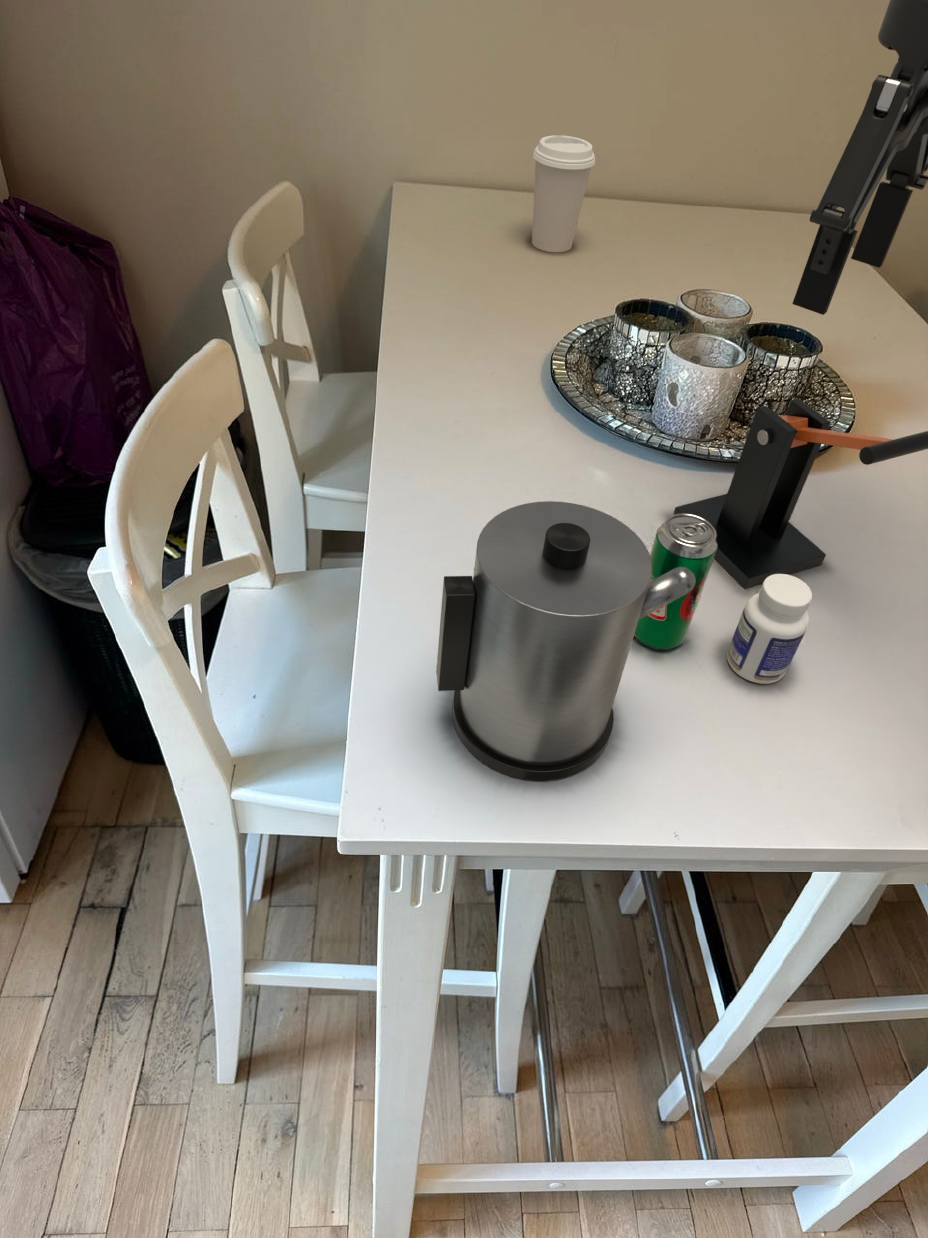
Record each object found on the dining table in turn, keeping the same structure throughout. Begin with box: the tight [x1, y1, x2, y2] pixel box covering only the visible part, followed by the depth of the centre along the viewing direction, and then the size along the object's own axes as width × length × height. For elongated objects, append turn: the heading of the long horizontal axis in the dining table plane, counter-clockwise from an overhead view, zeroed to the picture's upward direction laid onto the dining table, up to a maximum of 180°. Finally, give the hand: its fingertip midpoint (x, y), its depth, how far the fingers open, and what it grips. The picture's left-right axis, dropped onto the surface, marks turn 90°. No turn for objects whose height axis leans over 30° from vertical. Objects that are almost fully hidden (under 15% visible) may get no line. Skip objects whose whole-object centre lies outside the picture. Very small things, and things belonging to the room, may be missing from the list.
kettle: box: [435, 500, 695, 782], centre depth 65 cm, size 18×13×19 cm
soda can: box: [634, 514, 718, 650], centre depth 76 cm, size 5×5×12 cm
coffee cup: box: [531, 134, 596, 254], centre depth 137 cm, size 10×10×15 cm
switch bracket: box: [672, 398, 831, 589], centre depth 85 cm, size 12×10×15 cm
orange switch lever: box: [779, 415, 928, 466], centre depth 77 cm, size 14×7×2 cm, turn 26°
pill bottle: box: [726, 574, 813, 685], centre depth 75 cm, size 5×5×9 cm
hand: (839, 284), depth 76 cm, fingers open, 13 cm apart
